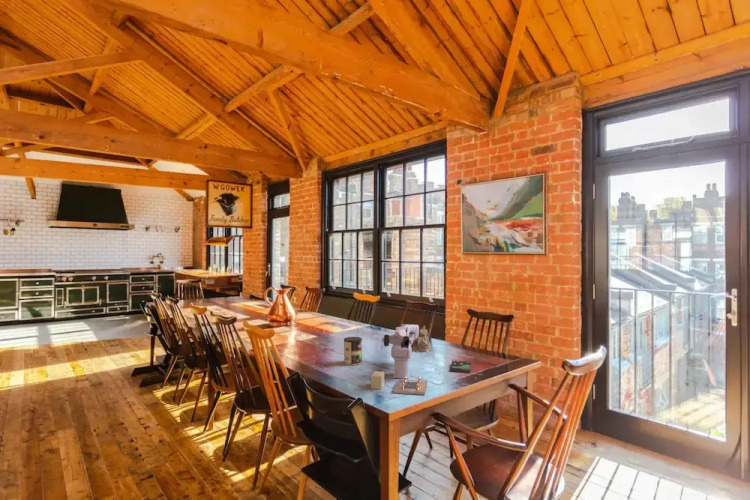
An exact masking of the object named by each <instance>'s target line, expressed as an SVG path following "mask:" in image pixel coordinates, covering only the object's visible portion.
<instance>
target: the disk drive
mask: <svg viewBox="0 0 750 500" xmlns="http://www.w3.org/2000/svg"><path fill="white" fill-rule="evenodd" d="M471 365H472V364H471V361H469V360H466V361H465V360H460V361H457V360H452V361H451V366H450V371H451V373H465V374H466V373H468V374H469V373H471V371H472V368H471Z"/></svg>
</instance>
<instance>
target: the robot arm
mask: <svg viewBox="0 0 750 500" xmlns="http://www.w3.org/2000/svg"><path fill="white" fill-rule="evenodd" d="M418 335H420V327H419V325H418V324H406V323H402V324H401V326H396V327H395V331H394V333H393V334H390V335H389V334H384V335H383V336H382V337H381V342H383V346H384V347H389V346H390V345H391V348H390V349H391V350H390V356H391V357H392V358H393V360H394V361H393V363H394V371H393V372H394V373H393V376H392V378H393V379H402V380H404V376H406V380H409V378H410V375H411V372H409V359H411V358H412V355H413V354H412V352H413V350H412V348H411V345H412V343H413V341H414V340H415V339H417V337H418Z"/></svg>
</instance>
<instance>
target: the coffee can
mask: <svg viewBox="0 0 750 500" xmlns="http://www.w3.org/2000/svg"><path fill="white" fill-rule="evenodd" d="M362 341H363V339H362V337H361V336H360V337H359V336H348V337H344V338H343V344H344V347H343V350H344V351H343V352H344V355H343V356H344V357H343V361H344V362H343V363H344V365H347V366H359V365H361V364H362V363H363V362H362V361H363V359H362V358H363V357H362V355H363V353H362V349H363V348H362V346H363V345H362Z"/></svg>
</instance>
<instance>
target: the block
mask: <svg viewBox="0 0 750 500" xmlns="http://www.w3.org/2000/svg"><path fill="white" fill-rule="evenodd" d="M385 383H386V381H385V371H381V370H379V371H376V370H374V371H373V373H372V374H371V375H370V389H373V390H382V389H383V388H384V385H385Z"/></svg>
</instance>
